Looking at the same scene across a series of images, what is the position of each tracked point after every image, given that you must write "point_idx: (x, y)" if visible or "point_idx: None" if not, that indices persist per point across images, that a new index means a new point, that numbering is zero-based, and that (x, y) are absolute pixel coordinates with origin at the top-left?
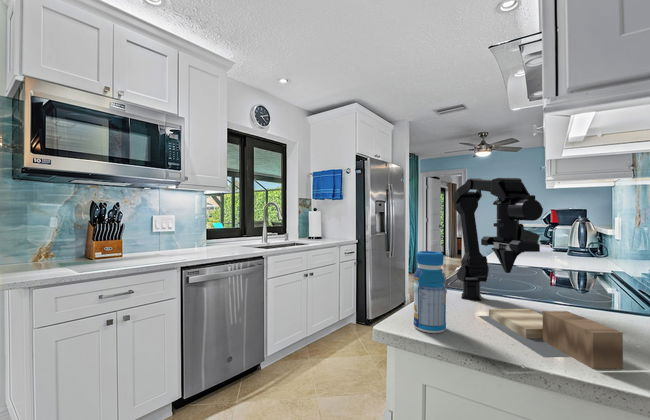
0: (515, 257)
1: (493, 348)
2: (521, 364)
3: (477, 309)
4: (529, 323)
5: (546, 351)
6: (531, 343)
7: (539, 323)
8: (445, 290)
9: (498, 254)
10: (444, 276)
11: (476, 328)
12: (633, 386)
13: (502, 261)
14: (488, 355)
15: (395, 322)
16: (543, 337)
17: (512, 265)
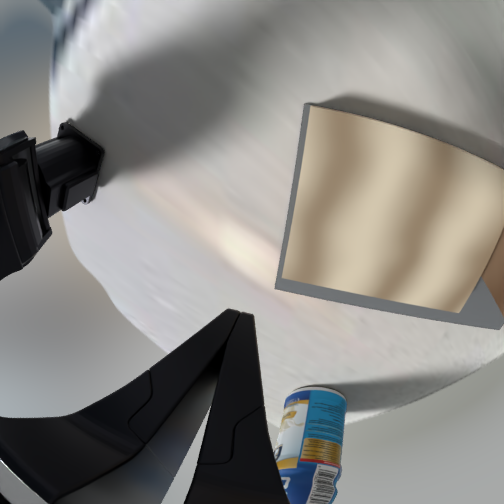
0: (272, 474)
1: (434, 369)
2: (481, 365)
3: (197, 231)
4: (444, 269)
5: (498, 310)
6: (470, 307)
7: (459, 239)
8: (338, 470)
9: (168, 484)
10: (330, 498)
11: (352, 343)
12: None
13: (197, 425)
14: (441, 385)
15: (275, 416)
16: (484, 279)
17: (260, 377)
